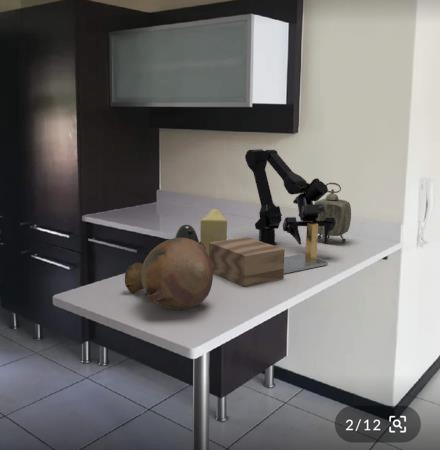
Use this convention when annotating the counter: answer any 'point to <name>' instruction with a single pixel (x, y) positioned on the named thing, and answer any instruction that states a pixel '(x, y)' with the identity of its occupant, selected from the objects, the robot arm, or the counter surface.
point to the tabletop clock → (335, 214)
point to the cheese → (213, 228)
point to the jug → (173, 274)
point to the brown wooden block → (247, 261)
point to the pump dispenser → (187, 233)
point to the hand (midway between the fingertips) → (312, 243)
